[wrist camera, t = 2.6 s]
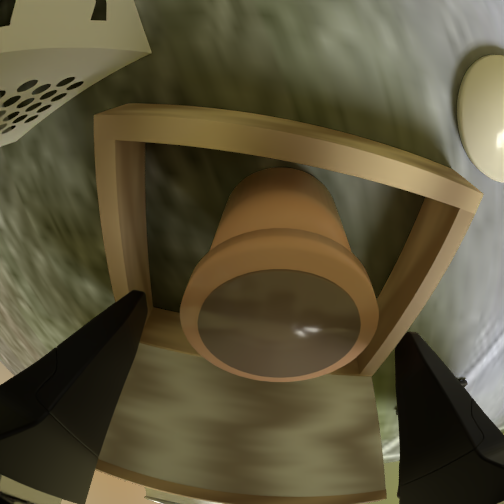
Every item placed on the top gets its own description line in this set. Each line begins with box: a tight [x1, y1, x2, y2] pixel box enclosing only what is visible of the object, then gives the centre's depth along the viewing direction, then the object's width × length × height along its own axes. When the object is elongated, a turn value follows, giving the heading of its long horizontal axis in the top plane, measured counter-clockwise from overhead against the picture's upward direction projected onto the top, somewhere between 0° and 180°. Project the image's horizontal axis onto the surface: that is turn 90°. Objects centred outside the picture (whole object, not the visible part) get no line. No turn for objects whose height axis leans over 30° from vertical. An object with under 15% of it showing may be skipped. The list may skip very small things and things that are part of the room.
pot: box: [180, 167, 379, 382], centre depth 12 cm, size 6×6×7 cm
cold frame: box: [94, 103, 483, 504], centre depth 11 cm, size 16×14×12 cm
